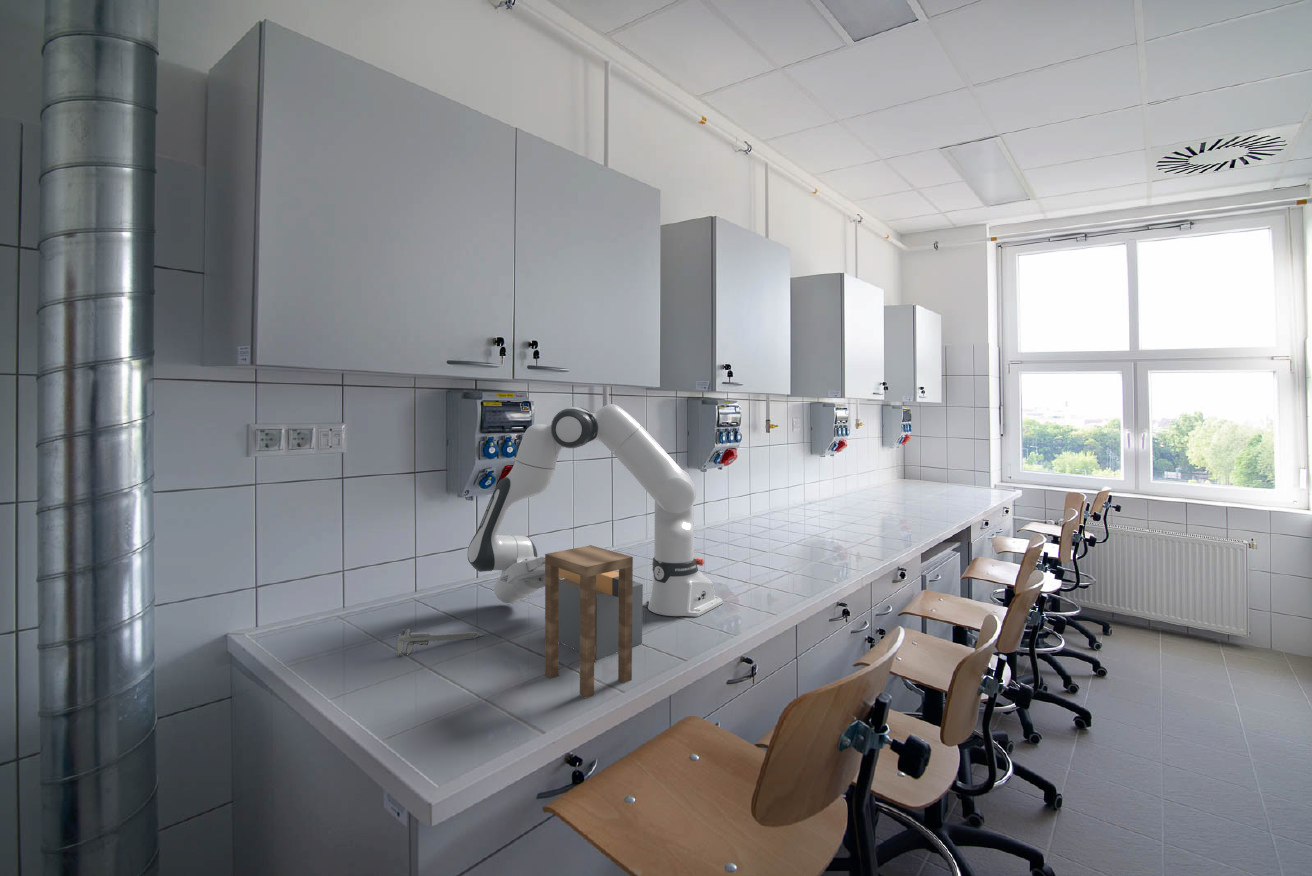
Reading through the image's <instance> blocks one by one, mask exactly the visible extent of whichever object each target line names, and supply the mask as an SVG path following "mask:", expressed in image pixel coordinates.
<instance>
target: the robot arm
mask: <svg viewBox="0 0 1312 876" xmlns="http://www.w3.org/2000/svg"><path fill="white" fill-rule="evenodd" d="M593 440H595V441H596V440H597V441H599V442H601V443H602V444H603V445H604V446H605V448H607V449H608V450H609V451H610V452H611V453H612V454H613V456H615V458H616V459H617V460H618V461H620V463H621V464H622V465H623V466H624V467H625V468H626V469H627V470H628V471H629V472H630V474H631V475H633V477H634V478H635V479H636V480H637V482H638V483H639V484H640V485H641V486H642V488H643V489H644V490H645V491H646V492H647V493H648V494H649V495H650V497H651V498H652V499H653V501H654V545H653V546H654V547H653V548H654V555H653V556H654V557H653V558H652V573H653V575H652V582H651V587H650V588H651V590H650V596H649V597H648V606H647V608H648V610H649V611H650V612H652V613H654V614H657V615H661V616H668V617H694V618H695V617H700V616H702V615H704V614H705V613H707V612H710V611H711V610H713V609H715V608H717V607H718V606H720V605H722V604H723V603H724V602H723V599H722V598H721V597H720V596H717V595H715V587H714V583H713V581H712V580H710V578H708V577H707V576H706V575H705V574H703V573H702V572H701V571H700V570H699V567H698V566H700V567H703V566H704V565H705V560H704V558H701V557H697V558H695V556H694V552H695V521H694V520H695V518H694V502H695V500H696V496H697V489H696V488H697V487H696V485H695V483H694V482H693V479H692V477H691V476H690V475H689V473H688V472H687V471H685V470H684V469H682V468H681V467H680V465H678V464H677V462H675V460H673V458H672V457H671V455H669V454H668V453H667V451H665V449H664V448H663V447H662V446H661V445H660V444H659V443H658V441H657V440H655V438H654V437H653V436H652V435H651V434H650V433H649V432H648V431H647V430H646V428H644V426H642V425H641V424H640V423H639V422H638V420H637V419H635V418H634V417H633V416H632V415H631V414H630V413H629V412H628V411H626V410H624V409H623V408H622V407H621V406H619V405H617V404H614V403H610V404H607V405H606V404H605V405H604V406H602V407H600V408H599V409H598V410H597V411H595V412H590V411H589V410H588V409H586V408H583V407H577V406H571V407H568V408H565V409H562V410H560V411H558V412H557V414H555V416H554V417H553V419H552V421H551V423H550V424H545V423H536V424H533V425H530V426H528V427H527V429H526V430H525V432H524V434H523V436H522V438H521V440H520V444H519V447H518V450H517V453H516V457H515V461H514V464H513V466H512V468H511V470H510V471H509V472H508V474H507V475H506V476H505V477H504V478H501V479H500V480H499V481H498V483H497V484H496V486H495V488H494V490H493V492H492V495H491V497H490V499H489V501H488V504H487V506H486V509H485V512H484V514H483V517H482V519H481V521H480V523H479V526H478V528H477V530H476V532H475V534H474V536H473V537H472V540H471V541H470V543H469V546H468V549H467V560H468V563H469V564H470V565H471V566H472V568H474V569H475V570H477V572H479V573H481V572H482V573H483V572H492V571H501V572H500V576H499V578H498V579H497V580H496V582H495V583H494V585H493V594H494V596H495V598H497V599H498V600H499V601H501V602H502V603H505V604H514V603H517V602H519V601H522V600H524V599H525V598H528V596H530V595H532V594H534V593H535V592H537V591H539V590H540V589H543V588H545V556H540V557H539V556H538V550H537V548H536V546H535V544H534V542H533V540H532V539H531V538H530V537H529V536H526V535H515V534H513V535H505V534H504V535H501V534H498V533H499V529H500V526H501V524H502V522H503V519H504V517H505V515H506V513H507V510H508V509H509V508H510V507H511V506H513V505H514V504H515V503H517V502H519V501H522V500H525V499H529V498H532V497H535V496H538V495H540V494H541V493H543V492H545V491H546V490H547V489H548V488H549V486H550V485H551V484H552V481H553V477H554V474H555V470H556V465H557V461H558V457H559V456H560V455H559V454H560V453H561V451H562V450H563V449H564V448H566V449H576V448H580V447H583V446H585V445H586V444H588V443H589V442H592V441H593ZM562 579H564V578H562V577H559V580H562Z"/></svg>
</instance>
